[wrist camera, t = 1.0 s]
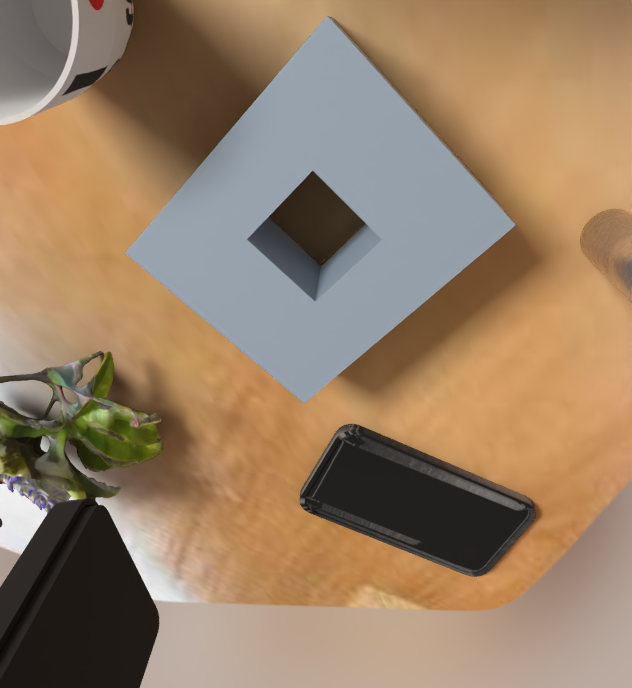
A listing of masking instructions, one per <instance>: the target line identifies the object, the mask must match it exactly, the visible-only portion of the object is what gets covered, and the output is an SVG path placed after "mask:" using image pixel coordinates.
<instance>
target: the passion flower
mask: <svg viewBox="0 0 632 688" xmlns="http://www.w3.org/2000/svg"><path fill="white" fill-rule="evenodd" d="M102 354H103V353H102V352H101V351H99V352H97V353H95V354H93V355H88V356H86V357H84V358H82V359H80V360H78V361H76V362H73V363H70V364H67V365H64V366H62V367H53V368H46V369H45V370H43V371H41V372H38V373H34V374H26V375H14V376H3V377H0V383H4V382H9V381H22V380H24V381H25V380H38V381H42V382H44V383H46V384H48V385H49V386H50V387H51V388H52V389H53V397H52V399H51V402H50V404H49V406H48V408H47V411H46V413H45V415H44V417H43V419H42V420H35V419H34V418H29V417H26V416H23V415H21V414H19V413H18V412H17V411H15V410H14V409H12V408H10V407H8V406H7V405H5V404H4V403H3V402H2V401H0V484H2V483H4V484H7V487H8V489H9V490H11V492H13V491H14V490H13V487H14V489H16V490H17V491H18V492H19V493H20V495H22V496H24V495H25V496H26V497H27V498H28V499H30V500H31V501H32V502H33V503H34V504H36V505H37V506H38V507H39V508H40V510H42V508H44V509H45V510H46V511H47V513H48V512H49V511H50V509H51V508H52V507H53V506H54V505H55V504H56V503H59V502H64V501H69V498H70V497H71V496H72V497H73V499H74V500H78V499H85V498H92V499H93V500H95V498H96V497H104V498H110V497H112V496H115V495H116V494H117V493H118V492H119V491H120V489H121V488H120V487H116V488H115V487H113V486H107V485H106V484H105V483H102V482H97V481H96V480H95V479H94V478H88V477H87V476H86V475H84V474H82V473H81V472H80V471H79V470H78V469H76V468H75V467H74V465H73V464H72V463H71V462H70V460H69V458H68V457H67V455H66V453H65V443H66V440H68V439H69V441H70V444H71V445H73V446H75V447H76V448H77V453H78V457H79V458H80V460H81V462H82V464H83V465H84V467H85V468H86V469H87V468H88V469H89V470H91V471H94V472H98V471H101V470H103V471H104V470H107V469H110V468H112V467H115V466H120V467H127V466H129V465H132V464H134V463H137V464H138V465H139V464H141V463H142V462H143V461H146V460H148V459H151V458H152V457H155V456H156V455H159V454H160V453H161V452H162V451H163V444H162V437H161V436H160V435H159V432H158V427H157V425H156V423H158V422H161V416H160V414H159V413H158V412H157V413H154V414H153V415H151V416H149V415H148V414H146V413H145V412H143V411H138V410H134V409H130V408H128V407H125V406H123V405H121V404H117V403H114V402H113V401H110V400H106V399H104V398H105V397H106V396H107V395H108V392H109V389H110V386H111V384H112V382H113V376H114V363H113V358H112V354H111V352H107V353H106V354H105V357H104V359H103V361H102V363H101V365H100V367H99V369H98V370H97V372H96V374H95V375H94V377H93V378H92V380H91V381H90V382H89V383H88V384H87V385H85V386H84V387H77V386H76V384H77V383H78V382H79V381H80V380H81V379H82V377H83V373H82V369H83V367H84V365H85V364H86V363H88V362H89V361H90V360H92V359H93V358H96V357H98V356H100V355H102ZM62 386H63V387H65V388H68V389H70V390H72V391H73V392H75V393H76V394H77V395H78V403H74V404H71V403H69V402H68V401H67V400H66V399H65V397H64V394H63V390H62ZM55 401H59V402H60V404H61V408H62V409H61V415H60V416H59V417H58V418H57V419H55V420H48V421H45V419H46V417H47V415H48V413H49V411H50V409H51V408H52V406H53V404H54V403H55ZM101 403H103V404H105V405H103V404H101ZM42 436H46V437H48V438H49V442H50V447H49V449H48V452H44V451H43V450H42V449H41V447H40V444H41V440H42ZM0 527H2V520H1V519H0Z"/></svg>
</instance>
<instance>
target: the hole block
mask: <svg viewBox="0 0 632 688" xmlns="http://www.w3.org/2000/svg"><path fill="white" fill-rule="evenodd" d="M312 171H314V172H315V173H316V174H317V175H318V176H319V177H320V178H321V179H322V180H323V181H324V182H325V183H326V184H327V185H328V186H329V187H330V188H331V189H332V190H333V191H334V192H335V193H336V194H337V195H338V196H339V197H340V198H341V199H342V200H343V201H344V202H345V203H346V204H347V205H348V206H349V207H350V208H351V209H352V210H353V211H354V212H355V213H356V214H357V215H358V216H359V217H360V218H361V219H362V220H363V221H364V222H365V223H366V224H365V225H364V226H363V227H361V228H360V229H359V230H358V231H357V232H356V233H355V234H354V235H353V236H352V237H351V238H350V239H349V240H348V241H347V242H346V243H345V244H344V245H343V246H342V247H341V248H339V249H338V250H337V251H336V252H335V253H334V254H333V255H332V256H331V257H330V258H329V259H328V260H327V261H326V262H325V263H324V264H323V265H322V266H320V265H319V264H318V263H317V262H316V261H315V260H314V259H313V258H312V257H311V256H310V255H309V254H307V253H306V252H305V251H304V250H303V249H302V248H301V247H300V246H299V245H298V244H297V243H296V242H295V241H294V240H293V239H291V238H290V237H289V236H288V235H287V234H286V233H285V232H284V231H283V230H282V229H281V228H280V227H279V226H278V225H277V224H276V223H274V222H273V221H272V220H271V219H270V218H269V216H270V215H271V214H272V213H273V212H274V211H275V209H276V208H277V207H278V206H279V205H280V204H281V203H282V202H283V201H284V200H285V199H286V198H287V197H288V196H289V195H290V194H291V193H292V192H293V191H294V190H295V189H296V187H297V186H298V185H299V184H300V183H301V182H302V181H303V180H304V179H305V178H306V177H307V176H308V175H309V174H310V173H311V172H312ZM514 226H515V223H514V222H513V221H512V220H511V218H510V217H509V216H508V215H507V213H506V212H505V211H504V210H503V208H502V207H501V206H500V205H499V203H498V202H497V201H496V200H495V198H494V197H493V196H492V195H491V194H490V193H489V192H488V190H487V189H486V188H485V187H484V186H483V185H482V184H481V183H480V182H479V180H478V179H477V178H476V177H475V176H474V175H473V174H472V173H471V171H470V170H469V169H468V168H467V167H466V166H465V165H464V164H463V163H462V161H461V160H460V159H459V158H458V157H457V156H456V155H455V154H454V153H453V151H452V150H451V149H450V148H449V147H448V146H447V145H446V144H445V143H444V141H443V140H442V139H441V138H440V137H439V136H438V135H437V134H436V133H435V131H434V130H433V129H432V128H431V127H430V126H429V125H428V124H427V122H426V121H425V120H424V119H423V118H422V117H421V116H420V115H419V114H418V112H417V111H416V110H415V109H414V108H413V107H412V106H411V105H410V104H409V102H408V101H407V100H406V99H405V98H404V97H403V96H402V95H401V94H400V92H399V91H398V90H397V89H396V88H395V87H394V86H393V85H392V84H391V82H390V81H389V80H388V79H387V78H386V77H385V76H384V75H383V73H382V72H381V71H380V70H379V69H378V68H377V67H376V66H375V65H374V63H373V62H372V61H371V60H370V59H369V58H368V57H367V56H366V55H365V53H364V52H363V51H362V50H361V49H360V48H359V47H358V46H357V45H356V43H355V42H354V41H353V40H352V39H351V38H350V37H349V36H348V35H347V33H346V32H345V31H344V30H343V29H342V28H341V27H340V26H339V24H338V23H337V22H336V21H335V20H334V19H333V18H332V17H329V16H327V17H326V18H325V19H324V21H323V22H322V23H321V24H320V25H319V26H318V28H317V29H316V30H315V31H314V32H313V33H312V35H311V36H310V37H309V38H308V39H307V40H306V42H305V43H304V44H303V45H302V46H301V47H300V49H299V50H298V51H297V52H296V53H295V55H294V56H293V57H292V58H291V59H290V60H289V62H288V63H287V64H286V65H285V66H284V67H283V69H282V70H281V71H280V72H279V73H278V74H277V76H276V77H275V78H274V79H273V80H272V81H271V83H270V84H269V85H268V86H267V87H266V89H265V90H264V91H263V92H262V93H261V94H260V96H259V97H258V98H257V99H256V100H255V101H254V103H253V104H252V105H251V106H250V107H249V108H248V110H247V111H246V112H245V113H244V114H243V115H242V117H241V118H240V119H239V120H238V121H237V123H236V124H235V125H234V126H233V127H232V128H231V130H230V131H229V132H228V133H227V134H226V135H225V137H224V138H223V139H222V140H221V141H220V142H219V144H218V145H217V146H216V147H215V148H214V149H213V151H212V152H211V153H210V154H209V155H208V157H207V158H206V159H205V160H204V161H203V162H202V164H201V165H200V166H199V167H198V168H197V169H196V171H195V172H194V173H193V174H192V175H191V176H190V178H189V179H188V180H187V181H186V182H185V183H184V185H183V186H182V187H181V188H180V189H179V191H178V192H177V193H176V194H175V195H174V196H173V198H172V199H171V200H170V201H169V202H168V203H167V205H166V206H165V207H164V208H163V209H162V210H161V212H160V213H159V214H158V215H157V216H156V217H155V219H154V220H153V221H152V222H151V223H150V225H149V226H148V227H147V228H146V229H145V230H144V232H143V233H142V234H141V235H140V236H139V237H138V239H137V240H136V241H135V242H134V243H133V244H132V246H131V247H130V248H129V249H128V250H127V251H126V253H125V254H127V255H128V256H129V257H130V258H131V259H133V260H134V261H135V262H136V263H137V264H139V265H140V266H141V267H142V268H143V269H145V270H146V271H147V272H148V273H149V274H151V275H152V276H153V277H154V278H155V279H156V280H158V281H159V282H160V283H161V284H162V285H164V286H165V287H166V288H167V289H168V290H170V291H171V292H172V293H173V294H174V295H176V296H177V297H178V298H179V299H180V300H182V301H183V302H184V303H185V304H186V305H187V306H189V307H190V308H191V309H192V310H193V311H195V312H196V313H197V314H198V315H199V316H201V317H202V318H203V319H204V320H205V321H207V322H208V323H209V324H210V325H211V326H213V327H214V328H215V329H216V330H217V331H218V332H220V333H221V334H222V335H223V336H224V337H226V338H227V339H228V340H229V341H230V342H232V343H233V344H234V345H235V346H236V347H238V348H239V349H240V350H241V351H242V352H244V353H245V354H246V355H247V356H248V357H249V358H251V359H252V360H253V361H254V362H255V363H257V364H258V365H259V366H260V367H261V368H263V369H264V370H265V371H266V372H267V373H269V374H270V375H271V376H272V377H273V378H275V379H276V380H277V381H278V382H279V383H280V384H282V385H283V386H284V387H285V388H286V389H288V390H289V391H290V392H291V393H292V394H294V395H295V396H296V397H297V398H298V399H300V400H301V401H302V402H303V403H305V402H307V401H308V400H309V399H310V398H311V397H313V396H314V395H315V394H316V393H317V392H318V391H320V390H321V389H322V388H323V387H324V386H326V385H327V384H328V383H329V382H330V381H331V380H333V379H334V378H335V377H336V376H337V375H339V374H340V373H341V372H342V371H343V370H345V369H346V368H347V367H348V366H349V365H350V364H352V363H353V362H354V361H355V360H356V359H358V358H359V357H360V356H361V355H362V354H364V353H365V352H366V351H367V350H368V349H369V348H371V347H372V346H373V345H374V344H375V343H377V342H378V341H379V340H380V339H381V338H383V337H384V336H385V335H386V334H387V333H388V332H390V331H391V330H392V329H393V328H394V327H396V326H397V325H398V324H399V323H400V322H402V321H403V320H404V319H405V318H406V317H407V316H409V315H410V314H411V313H412V312H413V311H415V310H416V309H417V308H418V307H419V306H421V305H422V304H423V303H424V302H425V301H426V300H428V299H429V298H430V297H431V296H432V295H434V294H435V293H436V292H437V291H438V290H440V289H441V288H442V287H443V286H444V285H445V284H447V283H448V282H449V281H450V280H451V279H453V278H454V277H455V276H456V275H457V274H459V273H460V272H461V271H462V270H463V269H464V268H466V267H467V266H468V265H469V264H470V263H472V262H473V261H474V260H475V259H476V258H477V257H479V256H480V255H481V254H482V253H483V252H485V251H486V250H487V249H488V248H489V247H491V246H492V245H493V244H494V243H495V242H496V241H498V240H499V239H500V238H501V237H502V236H504V235H505V234H506V233H507V232H508V231H510V230H511V229H512V228H513V227H514Z"/></svg>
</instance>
